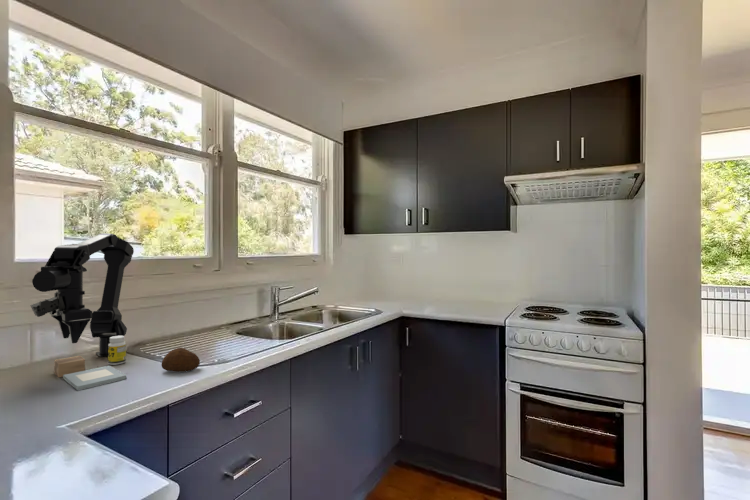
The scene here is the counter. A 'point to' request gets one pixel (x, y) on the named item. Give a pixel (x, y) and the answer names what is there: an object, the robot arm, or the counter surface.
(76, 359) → the walnut block
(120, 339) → the supplement bottle
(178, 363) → the potato
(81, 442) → the counter surface
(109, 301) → the robot arm
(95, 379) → the build board
